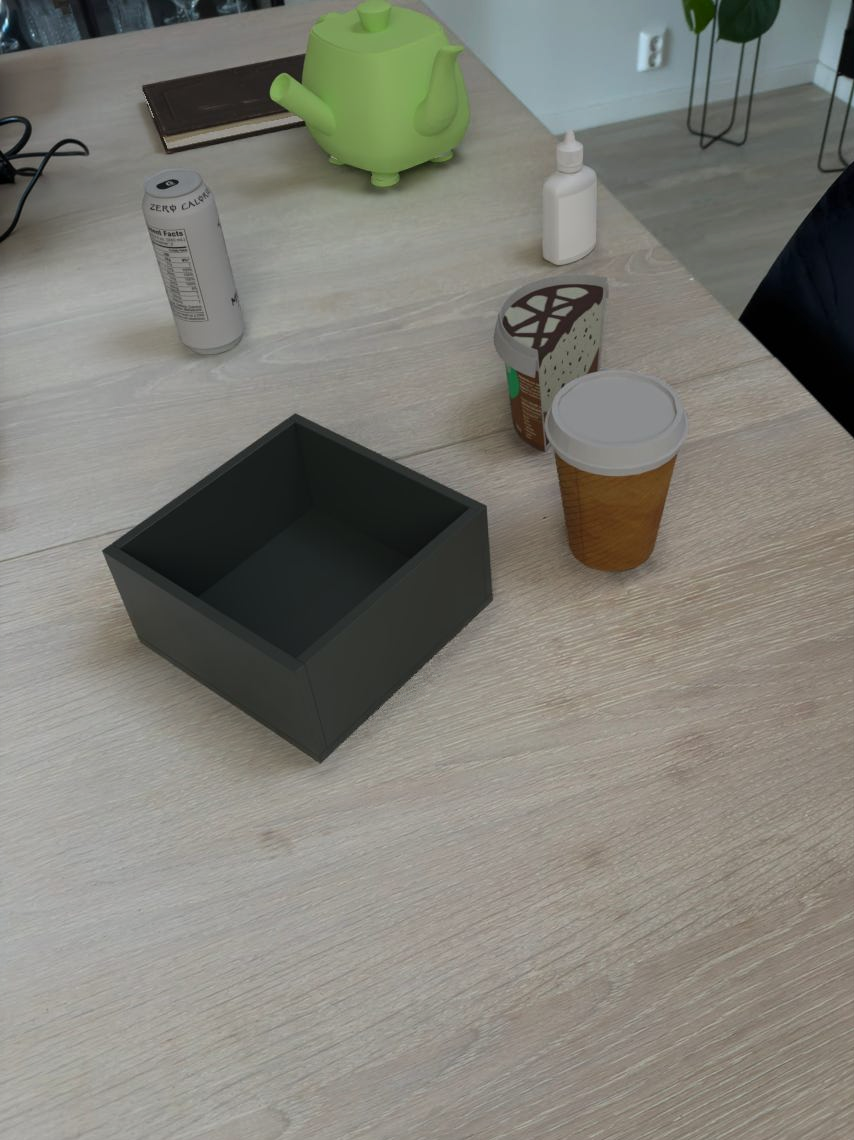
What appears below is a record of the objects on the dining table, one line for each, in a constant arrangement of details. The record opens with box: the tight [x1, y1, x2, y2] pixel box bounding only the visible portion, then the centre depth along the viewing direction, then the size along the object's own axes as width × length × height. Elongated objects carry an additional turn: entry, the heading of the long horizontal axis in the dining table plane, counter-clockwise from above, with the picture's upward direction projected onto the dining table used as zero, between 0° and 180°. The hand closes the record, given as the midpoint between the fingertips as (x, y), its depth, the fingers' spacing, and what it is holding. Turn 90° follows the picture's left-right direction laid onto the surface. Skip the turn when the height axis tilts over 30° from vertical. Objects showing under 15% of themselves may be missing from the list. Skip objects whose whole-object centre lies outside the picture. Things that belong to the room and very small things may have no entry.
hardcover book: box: [141, 52, 306, 155], centre depth 137 cm, size 16×23×2 cm
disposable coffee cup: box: [544, 369, 690, 572], centre depth 78 cm, size 10×10×12 cm
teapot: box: [270, 0, 471, 188], centre depth 119 cm, size 25×22×16 cm
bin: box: [101, 413, 494, 764], centre depth 76 cm, size 18×18×9 cm
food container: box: [493, 273, 610, 453], centre depth 90 cm, size 12×6×10 cm, turn 149°
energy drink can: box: [141, 167, 246, 355], centre depth 99 cm, size 6×6×15 cm
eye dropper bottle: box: [541, 128, 598, 266], centre depth 106 cm, size 4×6×12 cm
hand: (118, 0), depth 93 cm, fingers open, 8 cm apart
